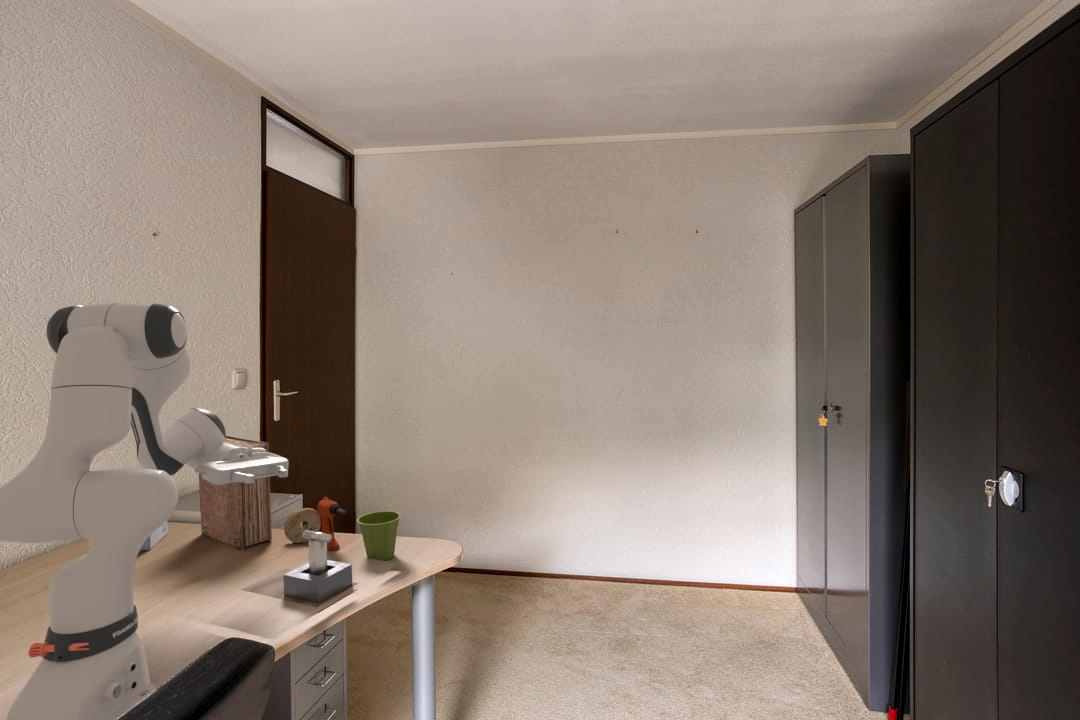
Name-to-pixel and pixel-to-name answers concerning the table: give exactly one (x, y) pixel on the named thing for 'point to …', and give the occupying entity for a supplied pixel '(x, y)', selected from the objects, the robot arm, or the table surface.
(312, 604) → the beige thin flat slab
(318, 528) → the stone disc
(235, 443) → the book
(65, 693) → the robot arm
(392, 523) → the plant pot
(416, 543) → the table surface
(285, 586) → the square socket block
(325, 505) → the toy drill
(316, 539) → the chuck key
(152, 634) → the table surface
